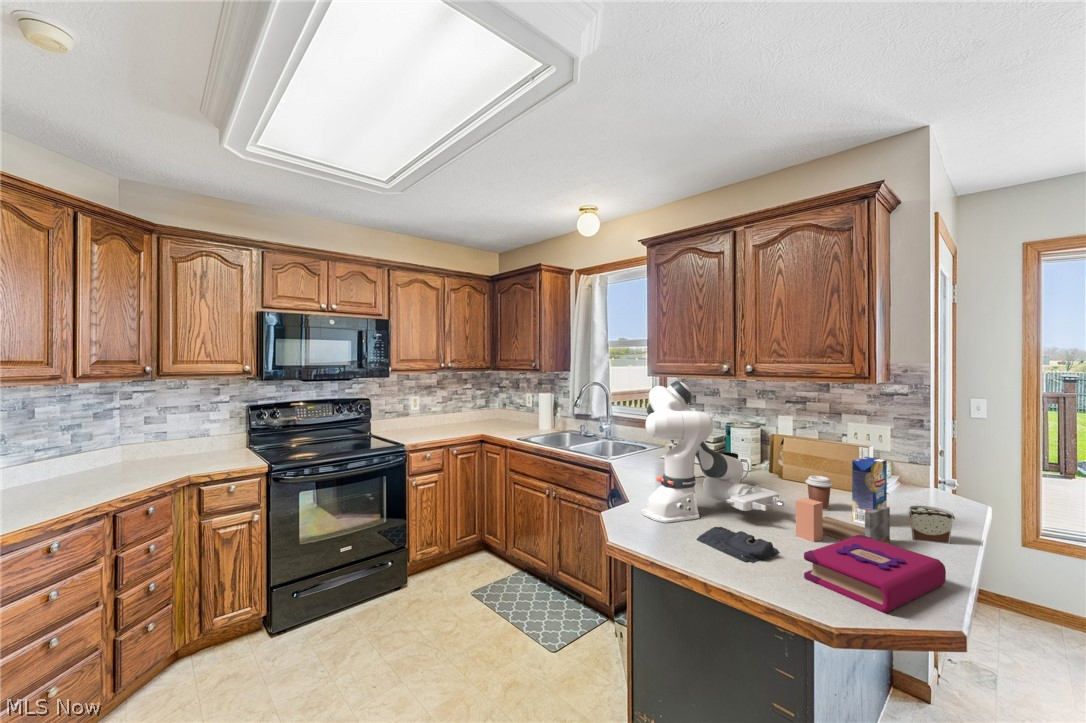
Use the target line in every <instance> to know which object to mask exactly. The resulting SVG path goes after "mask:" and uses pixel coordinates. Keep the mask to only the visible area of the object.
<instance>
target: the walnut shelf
mask: <svg viewBox="0 0 1086 723" xmlns="http://www.w3.org/2000/svg"><path fill="white" fill-rule="evenodd" d="M890 509H891V508H890V506H887V507H886V506H883V507H880V508H877V509H874V510H871V511H868V512H865V524H864V526H860V525H857V524H854V523H853V524H852V523H849V522H846V521H843V520H839V519H835V518H832V517H829V516H824V517H823V535H826V536H829V537H832V538H835V539H838V540H840V541H842V540H845V539H848V538H851V537H853V536H856V535H864V536H867V537H870V538H873V539H875V540H878V541H881V542H884V543H889V542H891V541H890V538H891V537H890V535H891V533H890V531H891V530H890V528H891V519H890V518H891V517H890V516H891V515H890V513H891V511H890Z"/></svg>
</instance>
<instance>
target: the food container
mask: <svg viewBox="0 0 1086 723" xmlns="http://www.w3.org/2000/svg"><path fill="white" fill-rule="evenodd" d="M906 515H907V516H909V520H910V528H911V536H912V540H913V541H916V542H926V543H936V544H946V545H950V541H951V535H952V526H953V520H956V518H955V514H954V512H952V511H949V510H947V509H943V508H939V507H935V506H928V505H912V506H911V505H910V506H909V508H908V510H907V513H906Z"/></svg>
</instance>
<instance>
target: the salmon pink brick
mask: <svg viewBox="0 0 1086 723" xmlns="http://www.w3.org/2000/svg"><path fill="white" fill-rule="evenodd" d="M823 512H824V511H823V503H822V502H819V501H815V500H811V499H809V497H807V498H806V497H802V498H799V499H795V536H796V537H798V538H802V539H804V540H807V541H810V542H813V543H814V542H818V541H821V540H823V536H824V534H823Z"/></svg>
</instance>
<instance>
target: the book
mask: <svg viewBox="0 0 1086 723" xmlns="http://www.w3.org/2000/svg"><path fill="white" fill-rule="evenodd" d="M803 559H804V561H807V562H810V563H812V569H811V570H808V571H805V572H804V573H803V578H804V580H806V581H809V582H811V583H814V584H816V585H819V586H821V587H823V588H825V589H828V590H830V591H832V592H834V593H837V594H839V595H841V596H843V597H846V598H849V599H851V600H853V601H854V602H856V603H857V602H858V603H859V604H862V605H864V606H867V607H869V608H871V609H873V610H875V611H878V612H881V613H883V614H887V613H888V612H891V611H893V610H894V609H897V608H898V607H900V606H903V605H904V604H906V603H908V602H911V601H912V600H915V599H917V598H919V597H921V596H923V595H924V594H927V593H929V592H931V591H933V590H935V589H936V588H939V587H940V586H944V584H945V583H946V580H947V579H946V578H947V576H946V574H947V573H946V572H947V570H946V566H945V565H944V563H943V562H942V561H941V560H940V559H937V558H934V557H931V556H929V555H925V554H921V553H918V552H916V551H913V550H909V549H906V548H902V547H899V546H897V545H894V544H890V543H889V542H887V543H884V542H881V541H878V540H875V539H873V538H870V537H867V536H864V535H856V536H853V537H851V538H848V539H845V540H840V541H836V542H833V543H831V544H828V545H825V546H822V547H819V548H816V549H813V550H812V549H811V550H807V551H805V552H803Z"/></svg>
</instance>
